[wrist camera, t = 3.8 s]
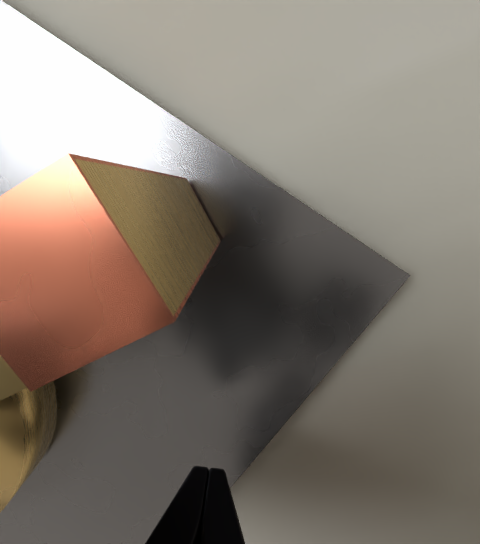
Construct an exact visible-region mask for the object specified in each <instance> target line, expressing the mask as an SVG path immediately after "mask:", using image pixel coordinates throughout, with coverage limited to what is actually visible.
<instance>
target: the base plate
mask: <svg viewBox="0 0 480 544" xmlns="http://www.w3.org/2000/svg"><path fill="white" fill-rule="evenodd" d="M68 153H70V154H74V155H79V156H84V157H89V158H93V159H98V160H103V161H108V162H112V163H117V164H122V165H127V166H131V167H136V168H141V169H146V170H150V171H155V172H160V173H165V174H169V175H174V176H179V177H184V178H187V180H188V182H189V184H190V186H191V187H192V189H193V191H194V193H195V195H196V197H197V198H198V200H199V202H200V204H201V206H202V208H203V209H204V211H205V213H206V215H207V217H208V219H209V220H210V222H211V224H212V226H213V228H214V230H215V231H216V233H217V235H218V237H219V239H220V241H221V242H220V244H219V246H218V247H217V249H216V251H215V253H214V254H213V256H212V258H211V260H210V261H209V263H208V265H207V267H206V268H205V270H204V272H203V274H202V275H201V277H200V279H199V280H198V282H197V284H196V286H195V287H194V289H193V291H192V293H191V294H190V296H189V298H188V300H187V301H186V303H185V305H184V307H183V308H182V310H181V312H180V314H179V315H178V317H177V319H176V321H175V322H173V323H171V324H169V325H167V326H165V327H163V328H161V329H159V330H157V331H155V332H153V333H151V334H149V335H147V336H145V337H143V338H140V339H138V340H136V341H134V342H132V343H130V344H128V345H126V346H124V347H122V348H120V349H118V350H116V351H114V352H112V353H110V354H107V355H105V356H103V357H101V358H99V359H97V360H95V361H93V362H91V363H89V364H87V365H85V366H83V367H81V368H79V369H77V370H74V371H72V372H70V373H68V374H66V375H64V376H62V377H60V378H58V379H56V380H54V384H55V389H56V399H57V416H56V426H55V430H54V434H53V438H52V441H51V443H50V445H49V447H48V449H47V452H46V454H45V455H44V457H43V458H42V460H41V461H40V462H39V464H38V465H37V467H36V468H35V469H34V471H33V472H32V473H31V474H30V476H29V477H28V478H27V480H26V481H25V482H24V483H23V485H22V486H21V487H20V489H19V490H18V491H17V492H16V494H15V495H14V496H13V498H12V499H11V500H10V502H9V503H8V504H7V505H6V507H5V508H4V509H3V510H2V511H1V512H0V544H145V543H146V541H147V540H148V538H149V536H150V535H151V533H152V532H153V530H154V528H155V527H156V525H157V524H158V522H159V520H160V519H161V517H162V516H163V514H164V512H165V511H166V509H167V508H168V506H169V504H170V503H171V501H172V500H173V498H174V496H175V495H176V493H177V492H178V490H179V488H180V487H181V485H182V484H183V482H184V480H185V479H186V477H187V476H188V474H189V473H190V471H191V469H192V468H193V467H194V466H203V467H207V468H208V469H210V468H219V469H224V471H225V473H226V476H227V480H228V483H229V487H230V488H231V486H232V485H233V484H234V483H235V482H236V481H237V479H238V478H239V477H240V476H241V475H242V473H243V472H244V471H245V470H246V469H247V468H248V466H249V465H250V464H251V463H252V462H253V460H254V459H255V458H256V457H257V456H258V455H259V453H260V452H261V451H262V450H263V449H264V447H265V446H266V445H267V444H268V443H269V442H270V440H271V439H272V438H273V437H274V436H275V434H276V433H277V432H278V431H279V430H280V429H281V427H282V426H283V425H284V424H285V423H286V421H287V420H288V419H289V418H290V417H291V416H292V414H293V413H294V412H295V411H296V410H297V408H298V407H299V406H300V405H301V404H302V403H303V401H304V400H305V399H306V398H307V397H308V395H309V394H310V393H311V392H312V391H313V390H314V388H315V387H316V386H317V385H318V384H319V382H320V381H321V380H322V379H323V378H324V377H325V375H326V374H327V373H328V372H329V371H330V369H331V368H332V367H333V366H334V365H335V364H336V362H337V361H338V360H339V359H340V358H341V357H342V355H343V354H344V353H345V352H346V351H347V349H348V348H349V347H350V346H351V345H352V344H353V342H354V341H355V340H356V339H357V338H358V336H359V335H360V334H361V333H362V332H363V331H364V329H365V328H366V327H367V326H368V325H369V323H370V322H371V321H372V320H373V319H374V318H375V316H376V315H377V314H378V313H379V312H380V310H381V309H382V308H383V307H384V306H385V305H386V303H387V302H388V301H389V300H390V299H391V297H392V296H393V295H394V294H395V293H396V292H397V290H398V289H399V288H400V287H401V286H402V284H403V283H404V282H405V281H406V280H407V279H408V277H409V276H410V275H409V274H407V273H406V272H404V271H403V270H401V269H400V268H398V267H397V266H395V265H394V264H393V263H391V262H390V261H388V260H387V259H385V258H384V257H382V256H381V255H379V254H378V253H376V252H375V251H373V250H372V249H370V248H369V247H367V246H366V245H364V244H363V243H361V242H360V241H358V240H357V239H355V238H354V237H352V236H351V235H349V234H348V233H346V232H345V231H343V230H342V229H341V228H339V227H338V226H336V225H335V224H333V223H332V222H330V221H329V220H327V219H326V218H324V217H323V216H321V215H320V214H318V213H317V212H315V211H314V210H312V209H311V208H309V207H308V206H306V205H305V204H303V203H302V202H300V201H299V200H297V199H296V198H294V197H293V196H291V195H290V194H289V193H287V192H286V191H284V190H283V189H281V188H280V187H278V186H277V185H275V184H274V183H272V182H271V181H269V180H268V179H266V178H265V177H263V176H262V175H260V174H259V173H257V172H256V171H254V170H253V169H251V168H250V167H248V166H247V165H245V164H244V163H242V162H241V161H239V160H238V159H237V158H235V157H234V156H232V155H231V154H229V153H228V152H226V151H225V150H223V149H222V148H220V147H219V146H217V145H216V144H214V143H213V142H211V141H210V140H208V139H207V138H205V137H204V136H202V135H201V134H199V133H198V132H196V131H195V130H193V129H192V128H190V127H189V126H187V125H186V124H184V123H183V122H182V121H180V120H179V119H177V118H176V117H174V116H173V115H171V114H170V113H168V112H167V111H165V110H164V109H162V108H161V107H159V106H158V105H156V104H155V103H153V102H152V101H150V100H149V99H147V98H146V97H144V96H143V95H141V94H140V93H138V92H137V91H135V90H134V89H132V88H131V87H130V86H128V85H127V84H125V83H124V82H122V81H121V80H119V79H118V78H116V77H115V76H113V75H112V74H110V73H109V72H107V71H106V70H104V69H103V68H101V67H100V66H98V65H97V64H95V63H94V62H92V61H91V60H89V59H88V58H86V57H85V56H83V55H82V54H80V53H79V52H78V51H76V50H75V49H73V48H72V47H70V46H69V45H67V44H66V43H64V42H63V41H61V40H60V39H58V38H57V37H55V36H54V35H52V34H51V33H49V32H48V31H46V30H45V29H43V28H42V27H40V26H39V25H37V24H36V23H34V22H33V21H31V20H30V19H28V18H27V17H26V16H24V15H23V14H21V13H20V12H18V11H17V10H15V9H14V8H12V7H11V6H9V5H8V4H6V3H5V2H3V1H2V0H0V196H2V195H3V194H5V193H6V192H8V191H9V190H11V189H13V188H14V187H16V186H17V185H19V184H20V183H22V182H24V181H25V180H27V179H28V178H30V177H31V176H33V175H35V174H36V173H38V172H39V171H41V170H42V169H44V168H46V167H47V166H49V165H50V164H52V163H53V162H55V161H57V160H58V159H60V158H61V157H63V156H64V155H66V154H68Z"/></svg>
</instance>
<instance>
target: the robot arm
mask: <svg viewBox="0 0 480 544" xmlns="http://www.w3.org/2000/svg"><path fill="white" fill-rule="evenodd" d="M145 544H245V542H244V538H243V534H242V531H241V527H240V523H239V520H238V516H237V512H236V509H235V505H234V502H233V498H232V494H231V491H230V487H229V483H228V480H227V476H226V473H225V471H224V469H219V468H210V469H208V468H207V467H203V466H194V467H193V468H192V469H191V471H190V473H189V474H188V476H187V477H186V479H185V480H184V482H183V484H182V485H181V487H180V488H179V490H178V492H177V493H176V495H175V496H174V498H173V500H172V501H171V503H170V504H169V506H168V508H167V509H166V511H165V512H164V514H163V516H162V517H161V519H160V520H159V522H158V524H157V525H156V527H155V528H154V530H153V532H152V533H151V535H150V536H149V538H148V540H147V541H146V543H145Z"/></svg>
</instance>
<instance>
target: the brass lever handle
mask: <svg viewBox="0 0 480 544" xmlns="http://www.w3.org/2000/svg"><path fill="white" fill-rule="evenodd" d="M220 242H221V241H220V239H219V237H218V235H217V233H216V231H215V230H214V228H213V226H212V224H211V222H210V220H209V219H208V217H207V215H206V213H205V211H204V209H203V208H202V206H201V204H200V202H199V200H198V198H197V197H196V195H195V193H194V191H193V189H192V187H191V186H190V184H189V182H188V180H187V178H184V177H179V176H174V175H169V174H165V173H160V172H155V171H150V170H146V169H141V168H136V167H131V166H127V165H122V164H117V163H112V162H108V161H103V160H98V159H93V158H89V157H84V156H79V155H74V154H70V153H68V154H66V155H64V156H63V157H61V158H60V159H58V160H57V161H55V162H53V163H52V164H50V165H49V166H47V167H46V168H44V169H42V170H41V171H39V172H38V173H36V174H35V175H33V176H31V177H30V178H28V179H27V180H25V181H24V182H22V183H20V184H19V185H17V186H16V187H14V188H13V189H11V190H9V191H8V192H6V193H5V194H3V195H2V196H0V512H1V511H2V510H3V509H4V508H5V507H6V505H7V504H8V503H9V502H10V500H11V499H12V498H13V496H14V495H15V494H16V492H17V491H18V490H19V489H20V487H21V486H22V485H23V483H24V482H25V481H26V480H27V478H28V477H29V476H30V474H31V473H32V472H33V471H34V469H35V468H36V467H37V465H38V464H39V462H40V461H41V460H42V458H43V457H44V455H45V454H46V452H47V449H48V447H49V445H50V443H51V441H52V438H53V434H54V430H55V426H56V416H57V399H56V389H55V384H54V380H56V379H58V378H60V377H62V376H64V375H66V374H68V373H70V372H72V371H74V370H77V369H79V368H81V367H83V366H85V365H87V364H89V363H91V362H93V361H95V360H97V359H99V358H101V357H103V356H105V355H107V354H110V353H112V352H114V351H116V350H118V349H120V348H122V347H124V346H126V345H128V344H130V343H132V342H134V341H136V340H138V339H140V338H143V337H145V336H147V335H149V334H151V333H153V332H155V331H157V330H159V329H161V328H163V327H165V326H167V325H169V324H171V323H173V322H175V321H176V319H177V317H178V315H179V314H180V312H181V310H182V308H183V307H184V305H185V303H186V301H187V300H188V298H189V296H190V294H191V293H192V291H193V289H194V287H195V286H196V284H197V282H198V280H199V279H200V277H201V275H202V274H203V272H204V270H205V268H206V267H207V265H208V263H209V261H210V260H211V258H212V256H213V254H214V253H215V251H216V249H217V247H218V246H219V244H220Z"/></svg>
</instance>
